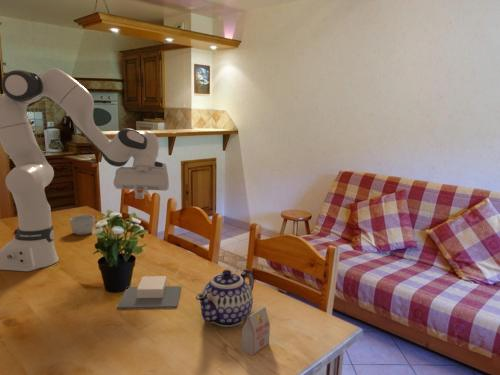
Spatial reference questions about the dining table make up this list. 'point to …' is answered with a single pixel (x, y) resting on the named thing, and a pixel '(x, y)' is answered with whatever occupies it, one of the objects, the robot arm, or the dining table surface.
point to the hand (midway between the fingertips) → (139, 197)
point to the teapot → (227, 298)
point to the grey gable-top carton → (256, 332)
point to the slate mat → (150, 299)
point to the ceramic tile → (152, 287)
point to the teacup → (82, 224)
